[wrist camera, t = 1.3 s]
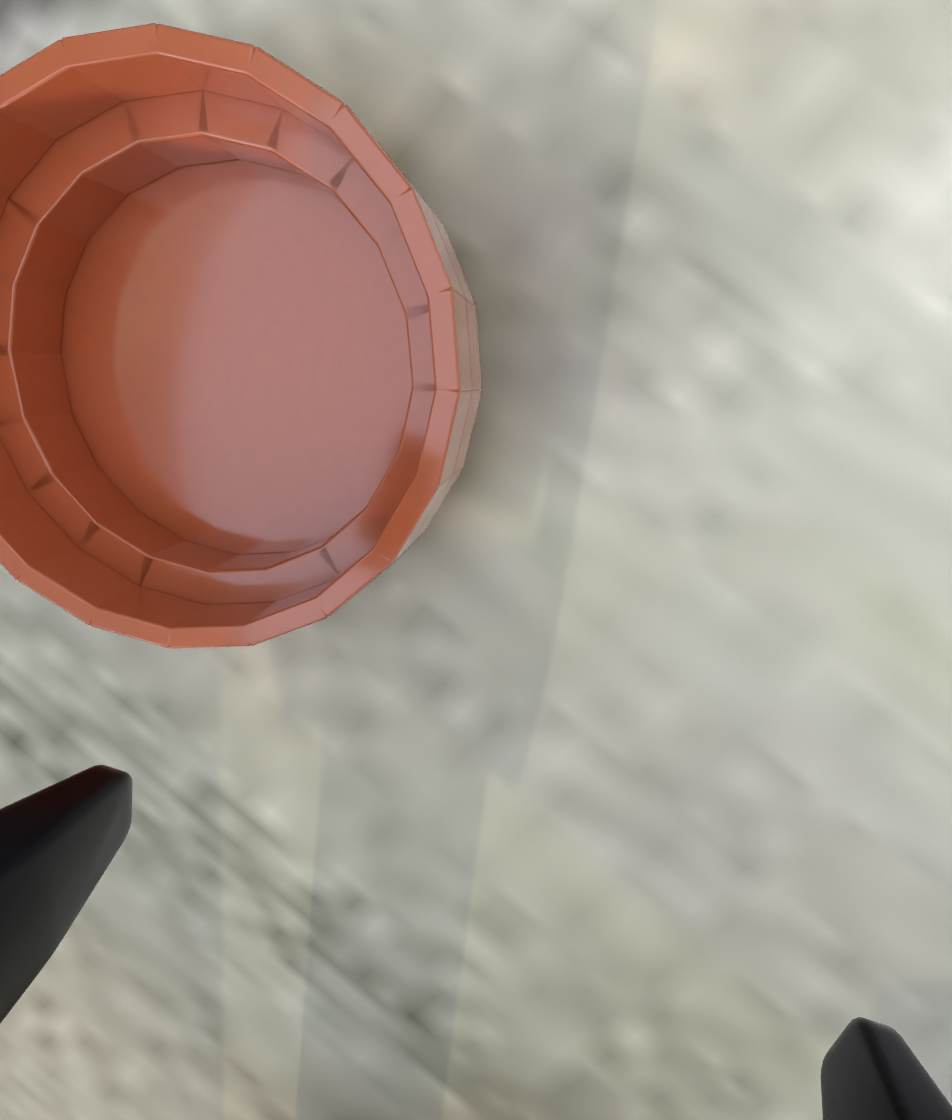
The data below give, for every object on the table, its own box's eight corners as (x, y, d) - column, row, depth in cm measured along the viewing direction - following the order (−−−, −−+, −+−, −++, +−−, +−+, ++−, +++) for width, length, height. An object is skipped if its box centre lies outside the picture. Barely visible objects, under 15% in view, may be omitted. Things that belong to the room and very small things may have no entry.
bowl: (339, 675, 24) (281, 746, 20) (-30, 444, 24) (-180, 459, 19) (578, 283, 21) (579, 253, 16) (145, 5, 21) (14, -110, 16)
